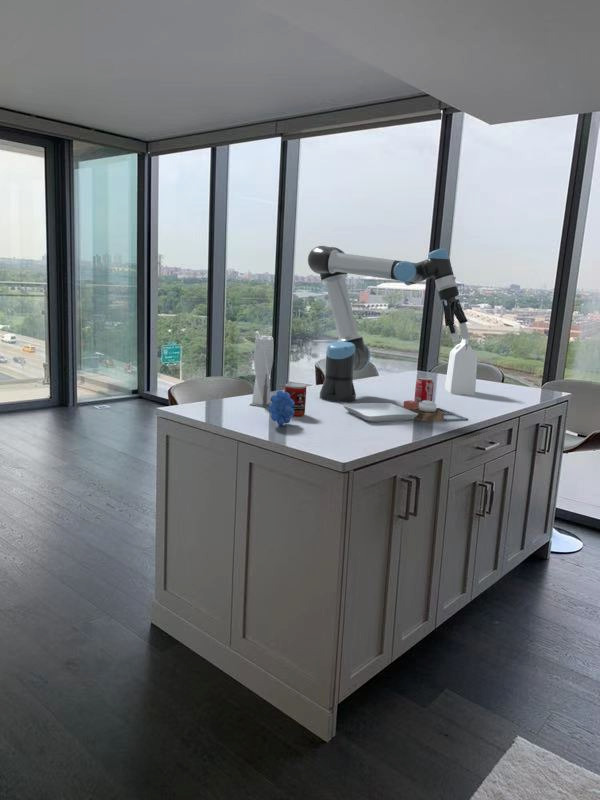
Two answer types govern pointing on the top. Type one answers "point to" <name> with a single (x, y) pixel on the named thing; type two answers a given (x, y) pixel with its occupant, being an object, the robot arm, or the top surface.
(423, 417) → the base
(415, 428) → the top surface
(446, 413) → the track
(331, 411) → the top surface
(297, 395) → the canned food
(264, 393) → the skyscraper
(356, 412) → the salad plate
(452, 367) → the milk
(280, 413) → the grapes
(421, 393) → the soda can
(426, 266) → the robot arm
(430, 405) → the dome
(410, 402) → the die
